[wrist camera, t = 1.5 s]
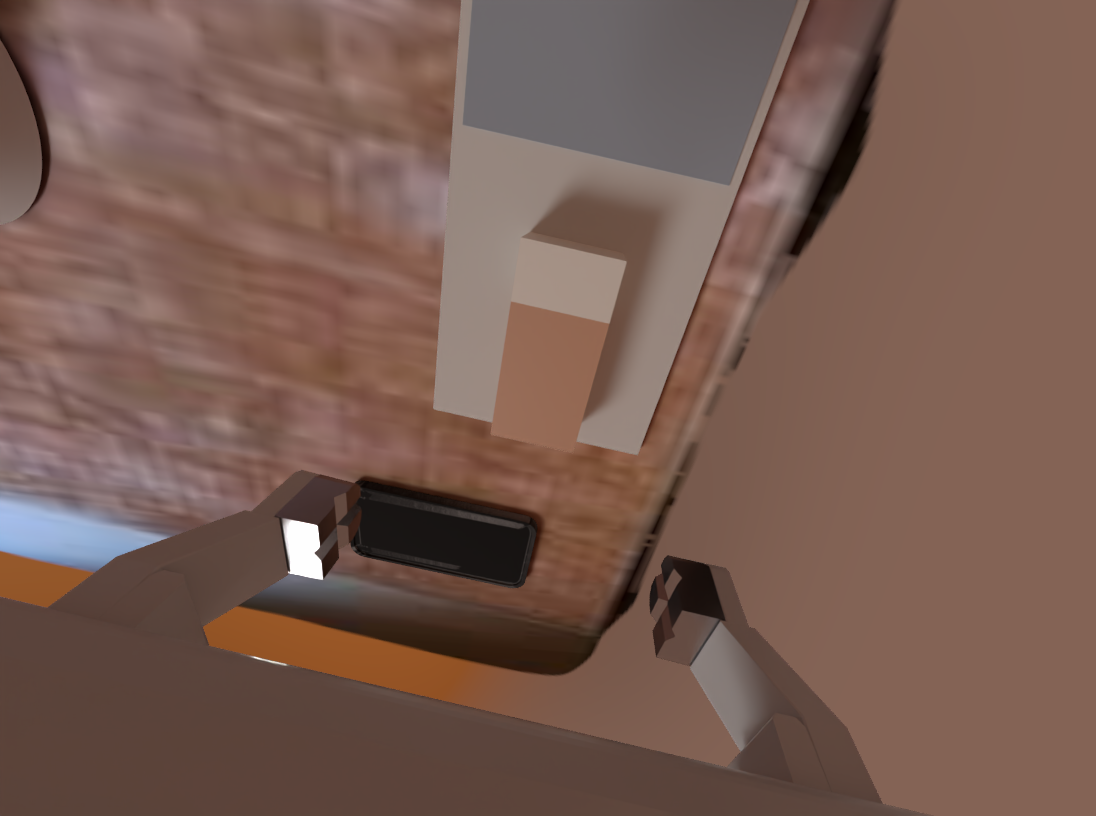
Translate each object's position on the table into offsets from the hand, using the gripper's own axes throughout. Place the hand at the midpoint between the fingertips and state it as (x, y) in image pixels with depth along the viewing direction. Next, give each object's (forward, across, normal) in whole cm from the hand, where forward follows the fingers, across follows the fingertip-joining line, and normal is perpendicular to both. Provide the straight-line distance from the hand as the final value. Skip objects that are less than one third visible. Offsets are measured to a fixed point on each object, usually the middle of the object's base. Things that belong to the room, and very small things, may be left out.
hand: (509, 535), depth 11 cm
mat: (+16, 0, -7) cm, 17 cm away
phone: (+16, +6, +18) cm, 25 cm away
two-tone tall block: (+15, 0, 0) cm, 15 cm away
